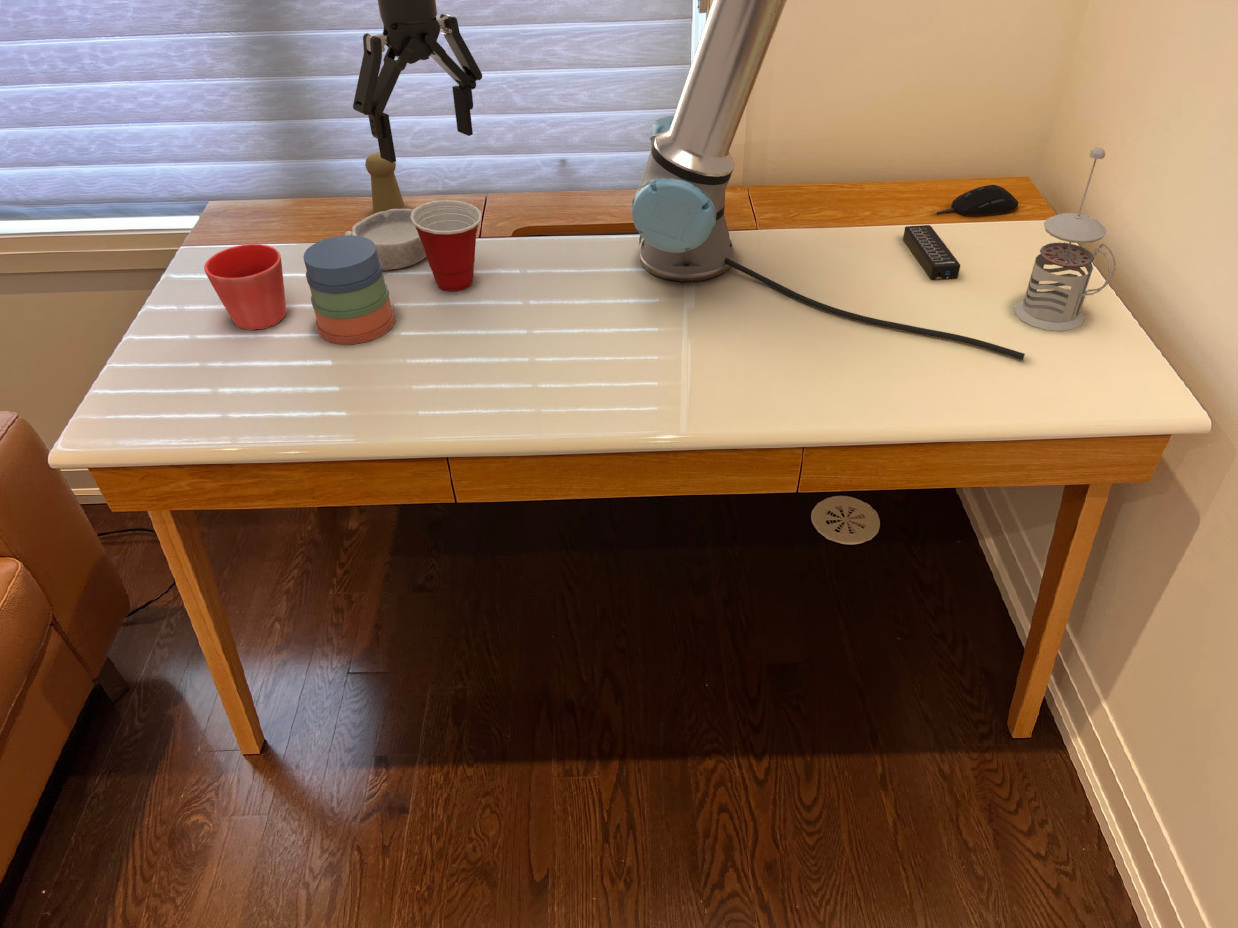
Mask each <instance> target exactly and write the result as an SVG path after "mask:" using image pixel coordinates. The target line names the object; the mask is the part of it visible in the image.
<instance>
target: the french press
mask: <svg viewBox="0 0 1238 928" xmlns="http://www.w3.org/2000/svg"><path fill="white" fill-rule="evenodd" d="M1105 156H1106V151H1105V149H1104V148H1103V147H1097V146H1096V147H1093V148H1092V149H1090V152H1089V158H1091V159H1094V161H1093V164H1092V168H1091V170H1090V174H1089V178H1088V180H1087V184H1086V187H1085V190H1084V193H1083V197H1082V200H1081V203H1080V207H1079V210H1078V212H1076V213H1075V212H1062V213H1059V214H1055V215H1053V216H1050V217H1048V218H1046V219H1045V221H1044V222H1043V226H1044V230H1045V232H1046V233H1047V234H1049V235H1050V237H1053V238H1055V239H1057V240H1060V241H1063V242H1060V241H1059V242H1050V243H1047V244H1045V245H1043V246H1041V247H1040V249H1039V254H1037V256H1036V257H1035V259H1034V263H1033V266H1032V270H1031V273H1030V276H1029V281H1028V283H1027V287H1026V291H1025V295H1024V297H1023V298H1022V299H1020V300H1019V301H1016V304H1015V305H1014V306H1013V310H1014V314H1015V316H1016V317H1018V319H1020V320H1021V321H1022V322H1024V323H1026V324H1028V325H1030V326H1032V327H1034V328H1037V329H1042V330H1046V331H1057V332H1064V331H1072V330H1074V329H1077V328H1078V327H1080V326H1082V325H1083V323H1084V321H1085V317H1084V314H1083V312H1082V311H1081V310H1082V307H1083V305H1084V301H1085V299H1086V297H1087V296H1093V295H1095V294H1098V293H1100V292H1101V291H1102V290H1103V289H1105V288H1106V287H1107V286H1108V285H1109V284H1110V282H1111V281H1112V279H1113V277H1114V274H1115V272H1116V270H1117V261H1116V255H1115V254H1114V252H1113V251H1112V249H1111V248H1110V247H1109V246H1108V245H1107V244H1106V243H1101V244H1100V245H1099V247H1096V248H1094V250H1093V253H1092V251H1090V250H1089V249H1087V248H1085V247H1083V246H1081V245H1078V244H1091V243H1095V242H1098V241H1101V240H1102V239H1103V238H1104V237H1105V235H1106V234H1107V230H1106V227H1105V226H1104V225H1103V224H1102V223H1101V222H1100V221H1099V220H1098V219H1096V218H1094V217H1090V216H1088V215H1086V214H1082V213H1081V212H1082V209H1083V205H1084V202H1085V198H1086V196H1087V192H1088V189H1089V186H1090V182H1091V180H1092V176H1093V173H1094V169H1095V166H1096V163H1097V160H1102V159H1105ZM1103 247H1105V248H1106V249H1107V250H1108V251H1109V253H1110V255H1111V257H1112V261H1113V269H1111V268H1112V267H1111V262H1110V259H1109V257H1108V255H1107V253H1106V252H1104V250H1103V249H1102V248H1103ZM1099 253H1102V254H1103V256H1104V258H1105V259H1106V261H1107V265H1108V273H1107V276H1106V278H1105V282H1104V283H1103V285H1102V286H1100V287H1097V288H1092V289H1087V288H1088V285H1089V283H1090V279H1091V276H1092V273H1093V270H1094V267H1093V261H1094V260H1095V257H1096V256H1098V254H1099ZM1054 265H1055V266H1057V267H1056V268H1044V267H1045V266H1054ZM1082 268H1085V270H1086V272H1087V273H1086V272H1085V271H1084V270H1083V269H1082ZM1066 271H1073V272H1078V273H1079V274H1080V275H1078V274H1075V273H1062V274H1055V273H1061V272H1066ZM1111 271H1112V272H1111ZM1040 282H1051V283H1040ZM1052 282H1053V283H1052ZM1064 286H1068V287H1070V289H1067V288H1064ZM1039 290H1046V291H1039Z"/></svg>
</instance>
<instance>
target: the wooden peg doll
mask: <svg viewBox="0 0 1238 928" xmlns="http://www.w3.org/2000/svg"><path fill="white" fill-rule="evenodd" d="M364 166H365V170H366V172H367V173H368V174H369V175H370V185H371V202H372V215H373V214H375V213H378V212H382V211H383V212H384V211H387V210H390V209H407V208H406V205H405V202H404V198H403V195H402V192H401V189H400V186H399V183H398V179H397V177H396V174H395V171H396V166H397V162H396V161H395V162H393V163H391V162H389V161H387V160H385V159H383V158H381V156H380V151H378V152H373V153H370V154H369V155H368V156H367V157H366V158H365V165H364Z"/></svg>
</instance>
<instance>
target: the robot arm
mask: <svg viewBox="0 0 1238 928" xmlns="http://www.w3.org/2000/svg"><path fill="white" fill-rule="evenodd" d="M787 1H788V0H712V2H711V5H710V8H709V11H708V13H707V17H706V21H705V22H704V26H703V28H702V32H701V34H700V38H699V41H698V44H697V47H696V51H695V54H694V56H693V59H692V61H691V65H690V67H689V71H688V73H687V77H686V80H685V82H684V85H683V88H682V92H681V95H680V98H679V99H678V100H679V101H678V104H677V107H676V110H675V112H674V115H668V116H663V117H660V118H658V119H656V120H655V121H654V122H653V123H652V125H651V128H650V136H649V140H650V152H649V155H648V159H647V162H646V165H645V167H644V170H643V174H642V177H641V180H640V183H639V186H638V188H637V190H636V192H635V194H634V196H633V199H632V203H631V218H632V222H633V225H634V227H635V230H636V231H637V232H638V234H639V239H638V241H639V242H638V243H639V247H640V251H639V254H640V255H639V258H640V259H639V260H640V264H641V266H642V267H643V268H644V269H645V271H647V272H648V273H649V274H651V275H654V276H655V277H658V278H662V279H664V280H669V281H674V282H701V281H705V280H710V279H713V278H715V277H716V278H717V277H719V276H721V275H723V274H725V273H726V272H727V271H729V270H730V268H733V269H735V270H737V271H739V272H741V273H743V274H746V275H747V276H749V277H750V278H751V277H752V278H753V279H755V280H757V281H759V282H761V283H762V284H765V285H767V286H768V287H771V288H773V289H775V290H776V291H779V292H781V293H782V294H784V295H787V296H788V297H791V298H793V299H795V300H797V301H799V302H802V303H804V304H806V305H808V306H812V307H814V308H815V309H818V310H819V309H820V310H822V311H824V312H828V313H830V314H833V315H837V316H839V317H842V318H846V319H849V320H853V321H857V322H860V323H863V324H868V325H872V326H873V325H874V326H877V327H882V328H888V329H893V330H898V331H903V332H907V333H912V334H918V335H921V336H922V335H923V336H929V337H934V338H939V339H945V340H949V341H955V342H959V343H963V344H965V345H972V346H974V347H978V348H982V349H985V350H989V351H992V352H995V353H999V354H1002V355H1005V356H1008V357H1011V358H1014V359H1018V360H1021V361H1023V360H1024V358H1025V355H1026V353H1024V352H1021V351H1017V350H1014V349H1011V348H1007V347H1004V346H1001V345H998V344H995V343H991V342H987V341H985V340H980V339H977V338H973V337H968V336H965V335H960V334H956V333H950V332H945V331H941V330H936V329H930V328H926V327H925V328H924V327H919V326H914V325H910V324H905V323H899V322H894V321H888V320H884V319H879V318H874V317H870V316H865V315H863V314H862V315H861V314H857V313H855V312H851V311H847V310H843V309H840V308H837V307H834V306H832V305H828V304H826V303H823V302H820V301H817V300H815V299H812V298H810V297H807V296H805V295H802V294H800V293H798V292H796V291H794V290H792V289H790V288H788V287H786V286H784V285H782V284H780V283H778V282H776V281H774V280H772V279H770V278H768V277H766V276H764V275H762V274H761V273H758V272H756V271H754V270H752V269H750V268H748V267H746V266H744V265H742V264H740V263H739V262H736V261H735V260H734V255H735V254H734V245H733V241H732V239H731V238H730V233H729V228H728V223H727V221H726V218H725V207H726V205H725V203H726V189H727V187H728V184H729V181H730V179H731V177H732V174H733V171H734V169H735V161H734V159H733V157H732V154H731V151H730V149H731V147H732V144H733V142H734V138H735V136H736V133H737V131H738V128H739V126H740V123H741V121H742V118H743V116H744V113H745V110H746V107H747V105H748V102H749V100H750V98H751V95H752V92H753V89H754V86H755V84H756V82H757V79H758V77H759V74H760V71H761V69H762V67H763V64H764V61H765V58H766V55H767V53H768V51H769V48H770V45H771V43H772V41H773V38H774V34H775V32H776V29H777V27H778V25H779V21H780V19H781V16H782V15H783V11H784V9H785V6H786V4H787ZM377 5H378V12H379V16H380V19H381V22H382V25H383V30H382V33H381V34H371V33H367V32H366V33H364V34H363V35H362V43H363V44H362V45H363V46H362V47H363V55H362V60H361V66H360V70H359V74H358V79H357V85H356V88H355V94H354V99H353V104H352V108H353V110H354V111H356V112H357V113H360V114H362V115H364V116H368V121H369V126H370V131H371V132H370V133H371V135H372V138H375V139H377V144H378V150H379V152H380V156H381V158H383V159H385V160H387V161H389V162H391V163H393V162H395V163H396V162H397V157H396V150H395V145H394V139H393V134H392V133H393V132H392V128H391V121H390V116H389V115H390V114H388V113H386V112H384V111H385V109H386V107H387V104H388V102H389V100H390V97H391V96H392V93H393V90H394V88H395V86H396V84H397V83H398V79H399V77H400V75H401V72H403V71H404V70H406V68H407V65H408V64H409V65H412V64H416V63H417V62H419V61H427V60H429V59H430V57H431V58H432V59H433V60H434V61H435V62H436V64H438V66H440V68H441V69H442V70H443V71H444V72H445V73H446V74H447V75H448V76H449V77H450V78H451V79H452V80H453V81H454V82H455V83H456V84H457V85H454V86H452V87H451V88H452V96H453V103H454V104H453V105H454V106H453V107H454V112H455V121H456V129H457V132H458V133H460V134H463V135H465V136H468V137H470V136H473V134H474V131H473V124H472V114H471V110H473V109H474V98H473V90H475V89H476V87H477V81H481V80H482V78H483V73H482V71H481V68H480V67H479V66H478V63H477V62H476V60H475V58H474V56H473V54H472V53H471V51H470V48H469V47H468V45H467V43H466V41H465V39H464V38H463V36H462V34H461V32H460V27H459V22H458V19H457V17H455V16H452V15H450V14H446V13H441V14H440V16H439V18H438V19H437V16H438V4H437V0H377ZM440 33H441V34H443V36H444V38H445V41H446V42H447V45H448V47H450V50H451V52H452V53H453V54H454V57H455V58H456V61H457V62H458V64H459V65H458V64H457V62H456V61H454V59H453V58H451V56H450V55H449V54H448V53H447V52H446V50H445V49H444V47H443V46H442V45H441V44H440V43H439V42H438V39H439V37H440ZM385 46H386V47H387V50H386V48H385ZM385 50H386V52H385ZM384 52H385V54H384V57H383V53H384ZM395 58H396V59H395ZM382 59H383V65H382ZM381 65H382V67H381Z"/></svg>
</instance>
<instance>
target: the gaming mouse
mask: <svg viewBox="0 0 1238 928" xmlns="http://www.w3.org/2000/svg"><path fill="white" fill-rule="evenodd" d="M1018 206H1019V200H1018V199H1017V198H1016V197H1015V196H1014V195H1013V194H1012V193H1011V192H1009V191H1008V190H1007V189H1006V188H1004V187H1003V186H999V185H997V184H989V185H988V184H987V185H983V186H978V187H975V188H973V189H970V190H968V191H966V192H964V193H962V194H960V195H958V196H957V197H955V199H953V200H952V202H951V207H950V208H946V209H943V210H939V211H936V214H937V215H940V214H945V213H951V212H955V213H958V214H960V215H962V216H965V217H980V216H988V215H989V216H990V215H991V216H992V215H1001V214H1007V213H1009V212H1012V211H1015V210H1016V209H1017V208H1018Z"/></svg>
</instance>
